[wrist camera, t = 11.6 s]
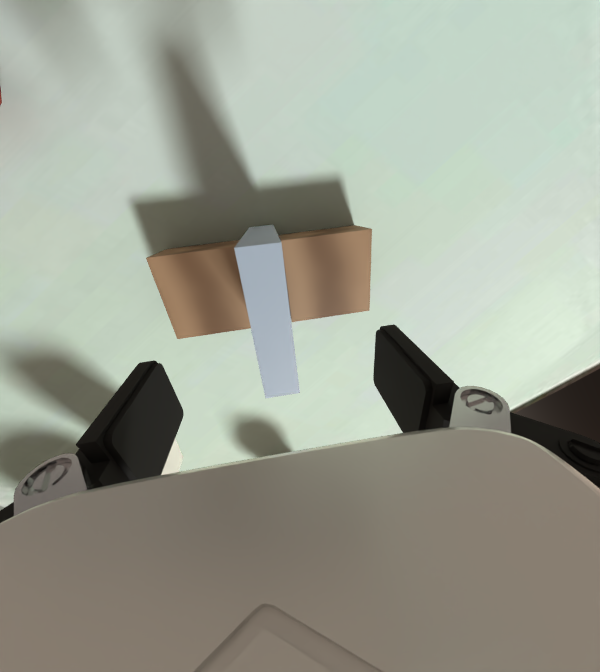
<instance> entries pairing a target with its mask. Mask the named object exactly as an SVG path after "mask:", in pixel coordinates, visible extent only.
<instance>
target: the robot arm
mask: <svg viewBox="0 0 600 672" xmlns="http://www.w3.org/2000/svg"><path fill="white" fill-rule="evenodd" d="M374 384H375V386H376V388H377V389H378V391H379V393H380V394H381V396H382V398H383V400H384V401H385V403H386V405H387V406H388V408H389V410H390V411H391V413H392V415H393V416H394V418H395V420H396V422H397V423H398V425H399V427H400V428H401V430H402V432H403V433H400V434H394V435H387V436H381V437H375V438H369V439H363V440H357V441H351V442H345V443H339V444H334V445H328V446H322V447H316V448H310V449H304V450H299V451H293V452H287V453H282V454H276V455H270V456H264V457H259V458H253V459H248V460H242V461H236V462H231V463H225V464H220V465H214V466H209V467H203V468H198V469H192V470H187V471H181V472H176V473H170V474H165V475H161V474H162V471H163V469H164V466H165V463H166V461H167V458H168V455H169V453H170V450H171V447H172V445H173V442H174V440H175V437H176V434H177V432H178V429H179V426H180V424H181V421H182V418H183V409H182V407H181V404H180V402H179V400H178V398H177V396H176V394H175V391H174V389H173V387H172V385H171V383H170V381H169V378H168V376H167V374H166V372H165V370H164V368H163V366H162V364H160V363H157V362H156V361H149V362H142V363H139V364H138V365H137V366H136V367H135V369H134V370H133V371H132V373H131V374H130V375H129V376H128V378H127V379H126V380H125V382H124V383H123V384H122V386H121V387H120V388H119V389H118V391H117V392H116V393H115V395H114V396H113V397H112V398H111V400H110V401H109V402H108V404H107V405H106V406H105V407H104V409H103V410H102V411H101V413H100V414H99V415H98V417H97V418H96V419H95V420H94V422H93V423H92V424H91V426H90V427H89V428H88V429H87V431H86V432H85V433H84V435H83V436H82V437H81V438H80V440H79V441H78V442H77V444H76V446H77V447H78V448H79V450H78V451H77V453H76V454H72V453H66V454H61V455H58V456H55V457H53V458H51V459H49V460H47V461H45V462H43V463H42V464H40V465H38V466H37V467H36V468H34V469H33V470H32V471H31V472H29V473H28V474H27V475H26V476H25V477H24V478H23V479H22V480H21V481H20V483H19V484H18V486H17V487H16V489H15V493H14V502H13V503H12V504H10V505H8V506H7V507H5V508H4V509H3V510H1V511H0V672H600V443H598V442H596V441H595V440H592V439H590V438H587V437H585V436H582V435H579V434H576V433H573V432H570V431H567V430H563V429H560V428H557V427H554V426H551V425H548V424H545V423H542V422H538V421H536V420H532V419H529V418H526V417H523V416H520V415H517V414H514V413H511V412H510V410H509V406H508V403H507V402H506V401H505V400H504V399H503V398H502V397H501V396H499V395H498V394H497V393H495V392H493V391H491V390H488V389H485V388H482V387H477V386H465V387H461V388H459V387H458V386H457V385H456V384H455V383H454V381H452V380H451V379H450V378H449V377H448V376H447V375H446V374H445V373H444V372H443V371H442V370H441V369H440V368H439V367H438V366H437V365H436V364H435V363H434V362H433V361H432V360H431V359H430V358H429V357H428V356H427V355H426V354H425V353H424V352H422V351H421V350H420V349H419V348H418V347H417V346H416V345H415V344H414V343H413V342H412V341H411V340H410V339H409V338H408V337H407V336H406V335H405V334H404V333H403V332H402V331H401V330H400V329H399V328H398V327H397V326H396V325H388V326H381V327H380V330H377V331H376V342H375V360H374Z"/></svg>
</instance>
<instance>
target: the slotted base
mask: <svg viewBox="0 0 600 672" xmlns="http://www.w3.org/2000/svg"><path fill="white" fill-rule="evenodd" d="M278 236H279V238H280V240H281V243H282V251H283V260H284V268H285V276H286V284H287V292H288V300H289V309H290V316H291V320H292V322H295V321H302V320H309V319H315V318H322V317H329V316H335V315H342V314H349V313H356V312H362V311H369V305H370V272H371V239H372V229H369V228H365V227H360V226H355V225H353V226H345V227H337V228H329V229H321V230H313V231H306V232H298V233H290V234H282V235H278ZM239 241H240V240H234V241H227V242H219V243H211V244H203V245H195V246H187V247H179V248H171V249H166V250H163V251H161V252H159V253H156V254H154V255H152V256H150V257H147V258H146V259H147V262H148V264H149V267H150V269H151V272H152V275H153V277H154V280H155V282H156V285H157V287H158V290H159V293H160V295H161V298H162V300H163V303H164V306H165V308H166V311H167V313H168V316H169V318H170V321H171V324H172V326H173V329H174V331H175V334H176V336H177V339H181V338H188V337H194V336H201V335H208V334H215V333H221V332H228V331H235V330H241V329H248V328H251V326H250V321H249V316H248V311H247V307H246V302H245V297H244V292H243V288H242V283H241V278H240V273H239V269H238V264H237V259H236V254H235V249H234V247H235V246H236V245H237V243H238V242H239Z"/></svg>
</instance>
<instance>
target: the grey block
mask: <svg viewBox="0 0 600 672" xmlns="http://www.w3.org/2000/svg"><path fill="white" fill-rule="evenodd" d="M234 249H235V254H236V259H237V264H238V269H239V273H240V278H241V283H242V288H243V292H244V297H245V302H246V307H247V311H248V316H249V321H250V326H251V331H252V335H253V340H254V345H255V350H256V354H257V359H258V364H259V369H260V373H261V378H262V383H263V388H264V393H265V397H266V398H270V397H276V396H283V395H289V394H295V393H300V390H299V382H298V374H297V366H296V358H295V349H294V341H293V333H292V325H291V317H290V309H289V300H288V292H287V284H286V276H285V268H284V260H283V251H282V243H281V240H280V238H279V236H278V234H277V232H276V230H275V227H274V225H264V226H255V227H249V228H248V230H247V231H246V232H245V234H244V235H243V236H242V238H241V239H240V241H239V242H238V243H237V245H236V246H235V247H234Z"/></svg>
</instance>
